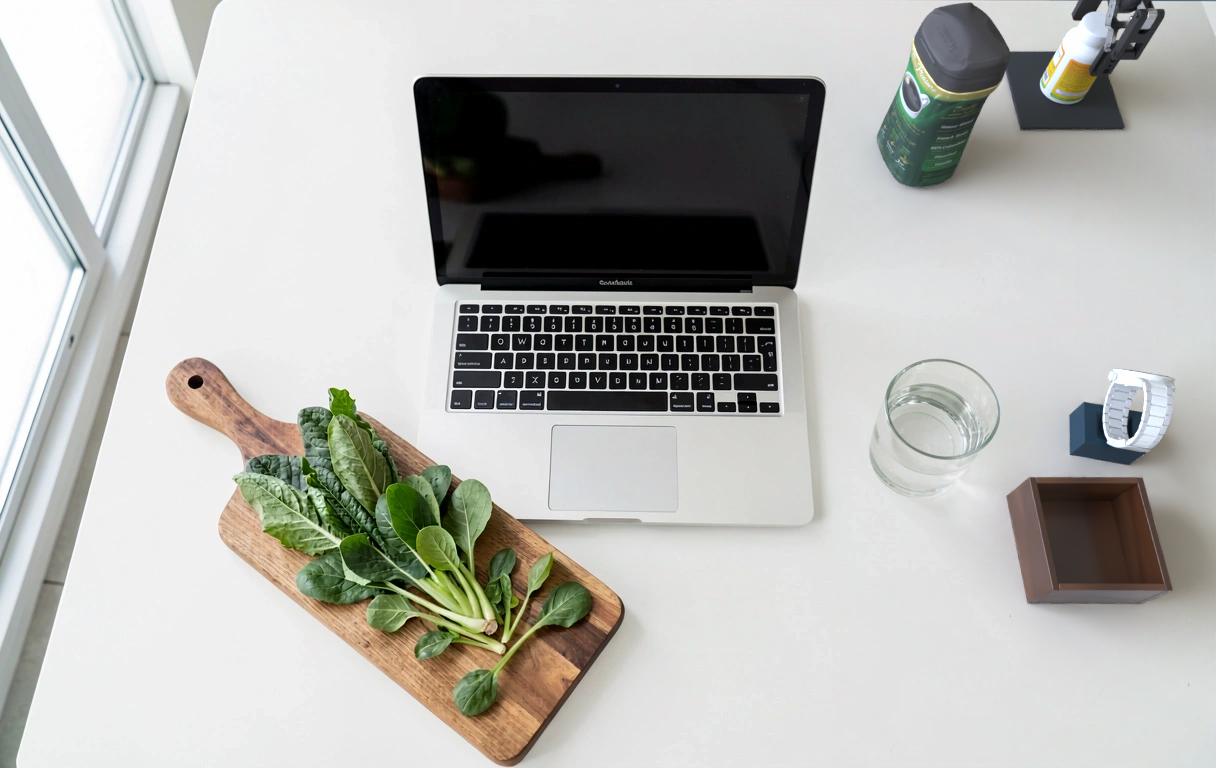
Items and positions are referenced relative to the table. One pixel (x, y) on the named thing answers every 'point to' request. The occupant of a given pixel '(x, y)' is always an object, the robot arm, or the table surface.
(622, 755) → the table surface
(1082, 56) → the supplement bottle
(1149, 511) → the wooden box
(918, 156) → the coffee jar
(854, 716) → the table surface
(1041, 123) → the mat
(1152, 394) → the watch
